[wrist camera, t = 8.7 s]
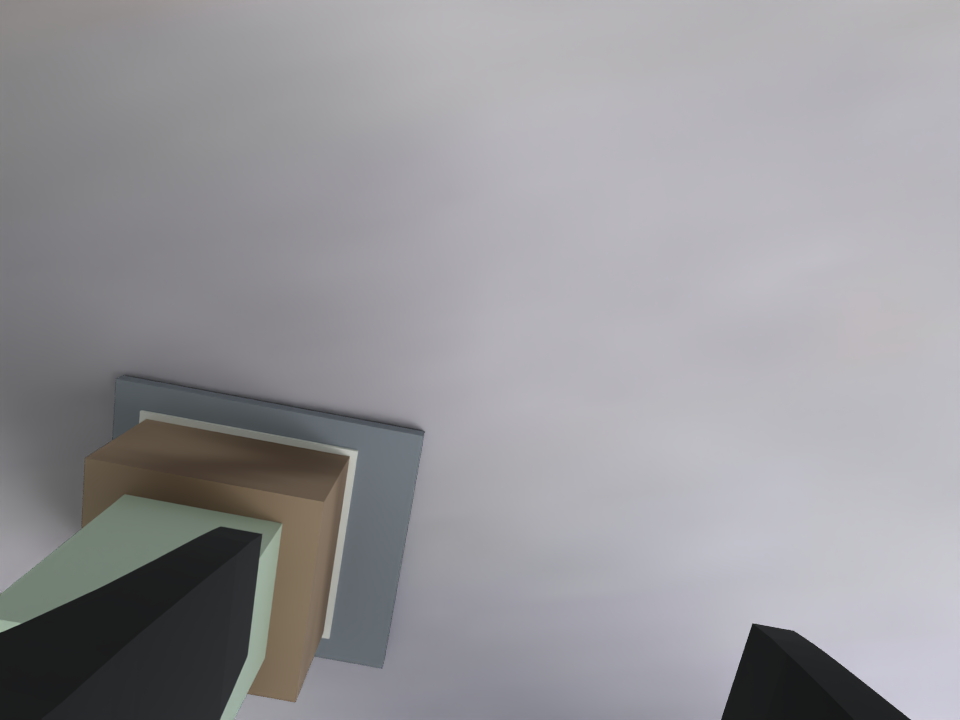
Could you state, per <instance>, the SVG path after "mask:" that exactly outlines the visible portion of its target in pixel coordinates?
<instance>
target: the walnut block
mask: <svg viewBox="0 0 960 720" xmlns="http://www.w3.org/2000/svg"><path fill="white" fill-rule="evenodd" d="M349 459H350V456H344V455H339V454H333V453H328V452H323V451H317V450H312V449H306V448H301V447H296V446H290V445H285V444H279V443H274V442H269V441H263V440H258V439H252V438H247V437H242V436H236V435H231V434H225V433H220V432H215V431H209V430H204V429H198V428H193V427H188V426H182V425H177V424H171V423H166V422H161V421H155V420H150V419H145V420H144V421H142V422H141V423H139V424H137V425H136V426H134V427H133V428H131V429H130V430H128V431H126V432H125V433H123V434H122V435H120V436H119V437H117V438H116V439H114V440H112V441H111V442H109V443H108V444H106V445H105V446H103V447H101V448H100V449H98V450H97V451H95V452H94V453H92V454H90V455H89V456H87V457H86V458H85V468H84V489H83V509H82V528H83V527H85V526H86V525H87V524H88V523H90V522H91V521H92V520H93V519H95V518H96V517H97V516H98V515H100V514H101V513H102V512H103V511H105V510H106V509H107V508H108V507H110V506H111V505H112V504H113V503H115V502H116V501H117V500H118V499H119V498H121V497H122V496H123V495H124V494H126V495H132V496H137V497H142V498H148V499H153V500H159V501H164V502H169V503H175V504H180V505H186V506H191V507H196V508H202V509H207V510H212V511H218V512H223V513H229V514H234V515H239V516H245V517H250V518H256V519H261V520H266V521H272V522H277V523H282V531H281V538H280V546H279V554H278V561H277V569H276V577H275V584H274V592H273V600H272V607H271V615H270V623H269V631H268V638H267V646H266V654H265V659H264V661H263V663H262V665H261V667H260V669H259V671H258V673H257V675H256V677H255V679H254V681H253V683H252V685H251V687H250V689H249V691H248V693H247V694H251V695H257V696H263V697H268V698H274V699H279V700H285V701H291V702H296V700H297V697H298V695H299V692H300V690H301V687H302V685H303V682H304V680H305V677H306V675H307V672H308V670H309V667H310V665H311V662H312V660H313V657H314V655H315V652H316V650H317V647H318V645H319V642H320V640H321V637H322V635H323V632H324V626H325V619H326V612H327V606H328V599H329V593H330V586H331V579H332V573H333V566H334V559H335V553H336V546H337V539H338V533H339V526H340V519H341V513H342V506H343V499H344V493H345V486H346V479H347V473H348V466H349Z"/></svg>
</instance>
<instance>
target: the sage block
mask: <svg viewBox="0 0 960 720" xmlns="http://www.w3.org/2000/svg"><path fill="white" fill-rule="evenodd" d="M220 526H222V527H228V528H233V529H238V530H244V531H249V532H255V533H260V534H262V541H261V549H260V558H259V566H258V574H257V583H256V591H255V599H254V608H253V616H252V624H251V633H250V641H249V649H248V656H247V659H246V661H245V663H244V666H243V668H242V670H241V673H240V675H239V678H238V680H237V682H236V685H235V687H234V689H233V692H232V694H231V696H230V698H229V701H228V703H227V705H226V707H225V710H224V712H223V714H222V716H221V719H220V720H234V718H235V716H236V714H237V713H238V711H239V709H240V707H241V705H242V703H243V701H244V699H245V697H246V695H247V693H248V691H249V689H250V687H251V685H252V683H253V681H254V679H255V677H256V675H257V673H258V671H259V669H260V667H261V665H262V663H263V661H264V659H265V654H266V646H267V638H268V631H269V623H270V615H271V607H272V600H273V592H274V584H275V577H276V569H277V561H278V554H279V546H280V538H281V531H282V523H277V522H272V521H266V520H261V519H256V518H250V517H245V516H239V515H234V514H229V513H223V512H218V511H212V510H207V509H202V508H196V507H191V506H186V505H180V504H175V503H169V502H164V501H159V500H153V499H148V498H142V497H137V496H132V495H126V494H124V495H123V496H122V497H121V498H119V499H118V500H117V501H116V502H115V503H113V504H112V505H111V506H110V507H108V508H107V509H106V510H105V511H103V512H102V513H101V514H100V515H98V516H97V517H96V518H95V519H93V520H92V521H91V522H90V523H88V524H87V525H86V526H85V527H83V528H82V529H81V530H80V531H78V532H77V533H76V534H75V535H73V536H72V537H71V538H70V539H68V540H67V541H66V542H65V543H63V544H62V545H61V546H60V547H58V548H57V549H56V550H55V551H53V552H52V553H51V554H50V555H48V556H47V557H46V558H45V559H44V560H42V561H41V562H40V563H39V564H37V565H36V566H35V567H34V568H32V569H31V570H30V571H29V572H27V573H26V574H25V575H24V576H22V577H21V578H20V579H19V580H17V581H16V582H15V583H14V584H12V585H11V586H10V587H9V588H7V589H6V590H5V591H4V592H2V593H1V594H0V632H3V631H5V630H8V629H10V628H12V627H15V626H17V625H20V624H22V623H24V622H26V621H29V620H31V619H33V618H35V617H37V616H39V615H42V614H44V613H46V612H48V611H50V610H52V609H55V608H57V607H59V606H61V605H63V604H65V603H68V602H70V601H72V600H74V599H76V598H78V597H81V596H83V595H85V594H87V593H89V592H92V591H94V590H96V589H98V588H100V587H102V586H104V585H106V584H108V583H110V582H112V581H114V580H116V579H118V578H120V577H122V576H124V575H126V574H128V573H130V572H132V571H134V570H136V569H138V568H139V567H141V566H143V565H145V564H147V563H149V562H151V561H153V560H155V559H157V558H159V557H161V556H163V555H165V554H166V553H168V552H170V551H172V550H174V549H176V548H178V547H180V546H182V545H184V544H185V543H187V542H189V541H191V540H193V539H195V538H197V537H199V536H201V535H203V534H205V533H207V532H209V531H211V530H213V529H215V528H218V527H220Z"/></svg>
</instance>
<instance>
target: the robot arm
mask: <svg viewBox="0 0 960 720" xmlns="http://www.w3.org/2000/svg"><path fill="white" fill-rule="evenodd" d="M261 541H262V534H260V533H255V532H249V531H244V530H238V529H233V528H228V527H222V526H220V527H218V528H215V529H213V530H211V531H209V532H207V533H205V534H203V535H201V536H199V537H197V538H195V539H193V540H191V541H189V542H187V543H185V544H184V545H182V546H180V547H178V548H176V549H174V550H172V551H170V552H168V553H166V554H165V555H163V556H161V557H159V558H157V559H155V560H153V561H151V562H149V563H147V564H145V565H143V566H141V567H139V568H138V569H136V570H134V571H132V572H130V573H128V574H126V575H124V576H122V577H120V578H118V579H116V580H114V581H112V582H110V583H108V584H106V585H104V586H102V587H100V588H98V589H96V590H94V591H92V592H89V593H87V594H85V595H83V596H81V597H78V598H76V599H74V600H72V601H70V602H68V603H65V604H63V605H61V606H59V607H57V608H55V609H52V610H50V611H48V612H46V613H44V614H42V615H39V616H37V617H35V618H33V619H31V620H29V621H26V622H24V623H22V624H20V625H17V626H15V627H12V628H10V629H8V630H5V631H3V632H0V720H220V719H221V716H222V714H223V712H224V710H225V707H226V705H227V703H228V701H229V698H230V696H231V694H232V692H233V689H234V687H235V685H236V682H237V680H238V678H239V675H240V673H241V670H242V668H243V666H244V663H245V661H246V659H247V656H248V649H249V641H250V633H251V624H252V616H253V608H254V599H255V591H256V583H257V574H258V566H259V558H260V549H261ZM721 720H910V719H909V718H908V717H907V716H905V715H904V714H903V713H902V712H900V711H899V710H898V709H896V708H895V707H894V706H893V705H891V704H890V703H889V702H888V701H886V700H885V699H884V698H883V697H881V696H880V695H879V694H878V693H876V692H875V691H874V690H873V689H871V688H870V687H869V686H867V685H866V684H865V683H864V682H862V681H861V680H860V679H859V678H857V677H856V676H855V675H854V674H852V673H851V672H850V671H848V670H847V669H846V668H845V667H843V666H842V665H841V664H839V663H838V662H837V661H836V660H834V659H833V658H832V657H830V656H829V655H828V654H826V653H825V652H824V651H822V650H821V649H820V648H818V647H817V646H816V645H814V644H813V643H811V642H810V641H808V640H807V639H805V638H804V637H802V636H801V635H799V634H798V633H796V632H795V631H791V630H786V629H780V628H775V627H769V626H764V625H758V624H752V627H751V630H750V633H749V636H748V639H747V642H746V645H745V648H744V651H743V654H742V657H741V660H740V664H739V667H738V670H737V673H736V676H735V679H734V682H733V685H732V688H731V691H730V694H729V697H728V700H727V703H726V706H725V709H724V713H723V716H722V719H721Z"/></svg>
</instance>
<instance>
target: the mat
mask: <svg viewBox="0 0 960 720" xmlns="http://www.w3.org/2000/svg"><path fill="white" fill-rule="evenodd" d="M145 419H150V420H155V421H161V422H166V423H171V424H177V425H182V426H188V427H193V428H198V429H204V430H209V431H215V432H220V433H225V434H231V435H236V436H242V437H247V438H252V439H258V440H263V441H269V442H274V443H279V444H285V445H290V446H296V447H301V448H306V449H312V450H317V451H323V452H328V453H333V454H339V455H344V456H350V459H349V466H348V473H347V479H346V486H345V493H344V499H343V506H342V513H341V519H340V526H339V533H338V539H337V546H336V553H335V559H334V566H333V573H332V579H331V586H330V593H329V599H328V606H327V612H326V619H325V626H324V632H323V635H322V637H321V640H320V642H319V645H318V647H317V650H316V652H315V655H314V656H315V657H321V658H326V659H332V660H337V661H343V662H348V663H354V664H360V665H365V666H371V667H376V668H382V667H383V663H384V658H385V653H386V647H387V641H388V636H389V630H390V625H391V619H392V613H393V608H394V602H395V596H396V591H397V585H398V579H399V574H400V568H401V563H402V557H403V551H404V546H405V540H406V534H407V529H408V523H409V517H410V512H411V506H412V500H413V495H414V489H415V484H416V478H417V472H418V467H419V461H420V455H421V450H422V444H423V438H424V433H425V431H419V430H414V429H409V428H403V427H398V426H393V425H387V424H382V423H376V422H371V421H366V420H360V419H355V418H350V417H344V416H339V415H333V414H328V413H323V412H317V411H312V410H307V409H301V408H296V407H291V406H285V405H280V404H274V403H269V402H264V401H258V400H253V399H248V398H242V397H237V396H231V395H226V394H221V393H215V392H210V391H205V390H199V389H194V388H189V387H183V386H178V385H172V384H167V383H162V382H156V381H151V380H146V379H140V378H135V377H129V376H124V375H123V376H121V377H119V378H117V379H116V387H115V404H114V421H113V439H112V440H114V439H116V438H117V437H119V436H120V435H122V434H123V433H125V432H126V431H128V430H130V429H131V428H133V427H134V426H136V425H137V424H139V423H141V422H142V421H144V420H145Z"/></svg>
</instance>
